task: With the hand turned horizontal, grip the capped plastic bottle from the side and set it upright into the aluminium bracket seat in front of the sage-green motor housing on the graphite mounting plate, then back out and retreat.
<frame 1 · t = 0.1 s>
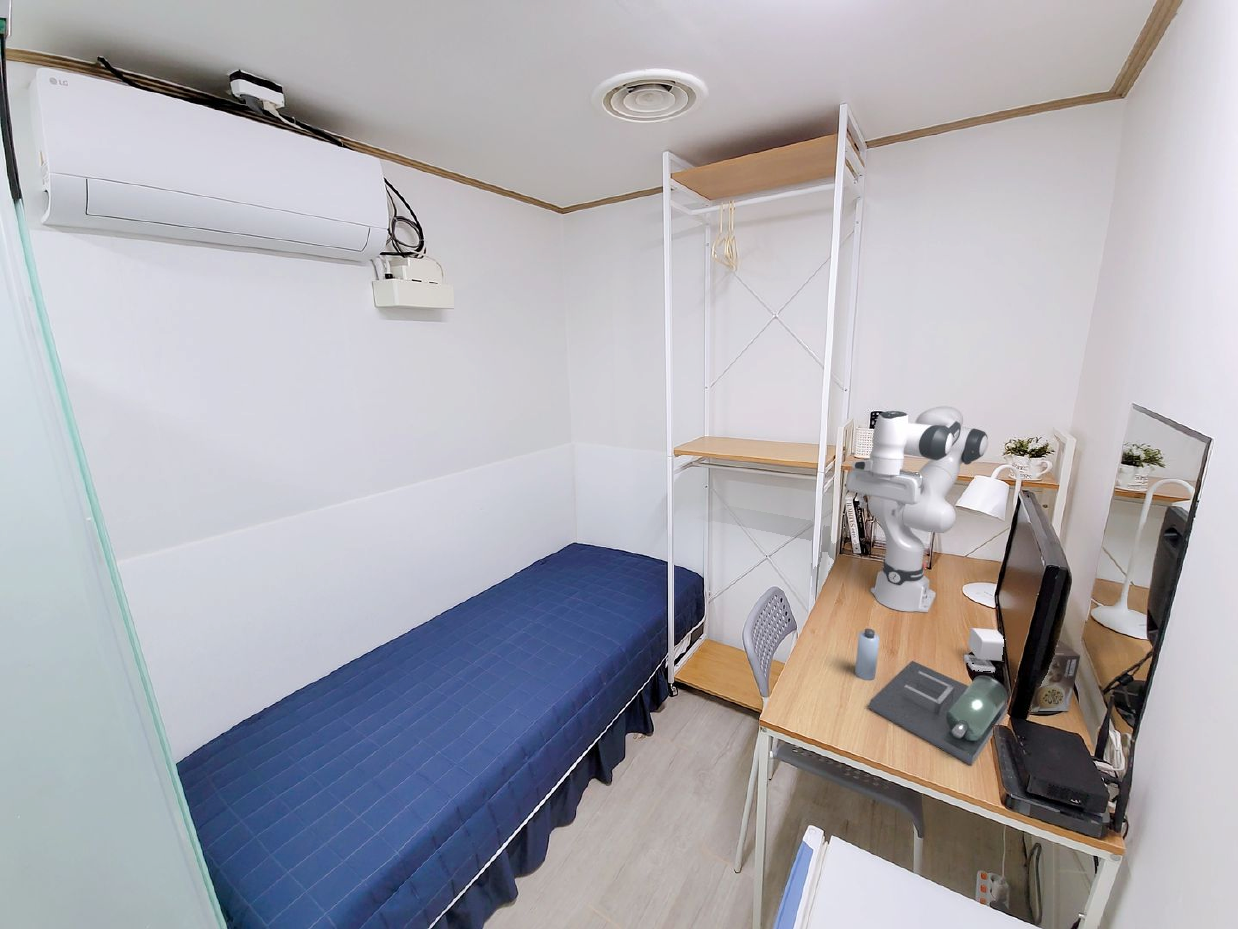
hand: (878, 511, 148), 39 cm above the table, tool pointing down, fingers open, 8 cm apart
capped plastic bottle: (864, 674, 136), on the table
security camera: (981, 666, 138), on the table
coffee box: (1039, 704, 124), on the table
motor mount: (937, 711, 122), on the table
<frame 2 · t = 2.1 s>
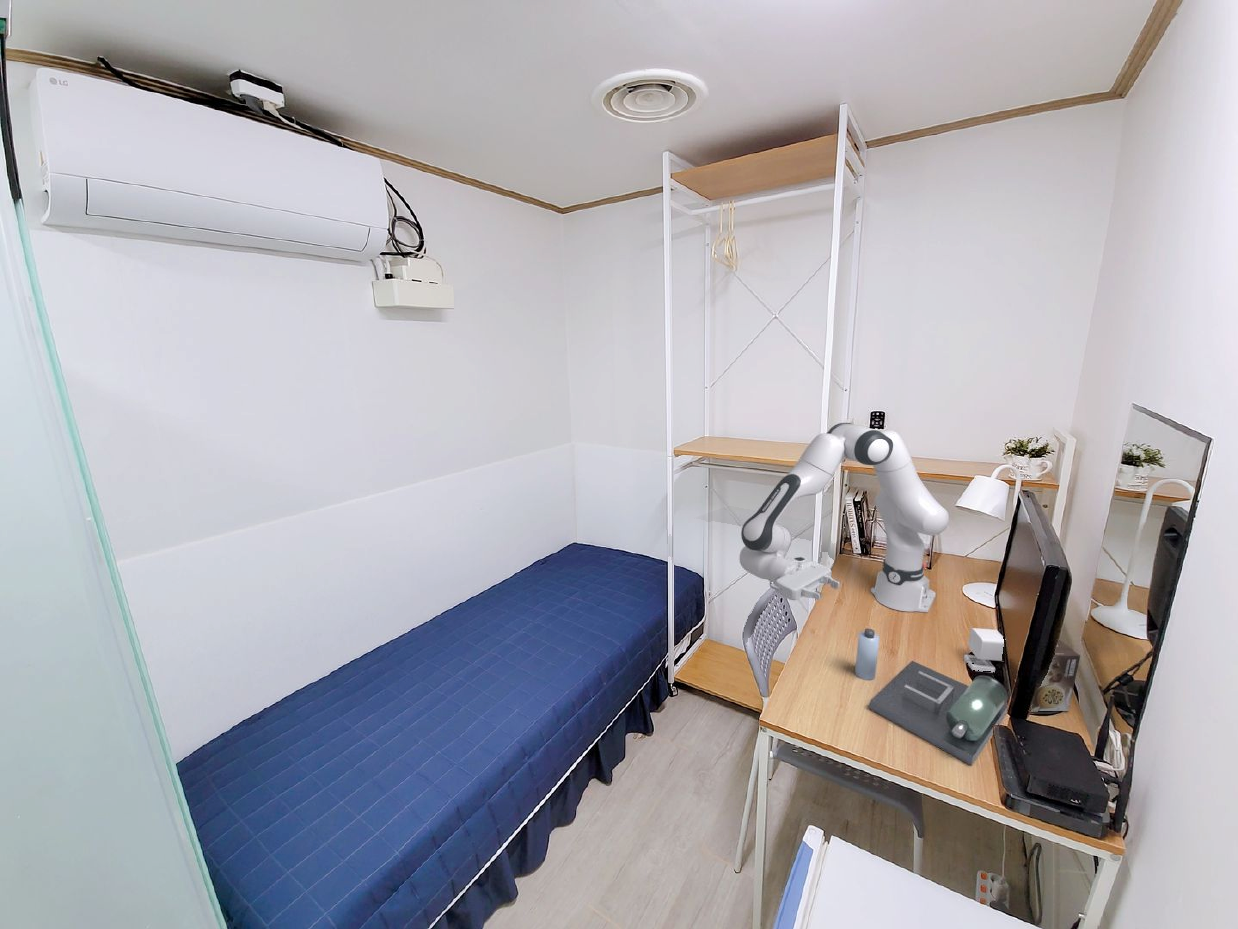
hand: (829, 591, 140), 20 cm above the table, tool horizontal, fingers open, 8 cm apart
nothing on the table moved.
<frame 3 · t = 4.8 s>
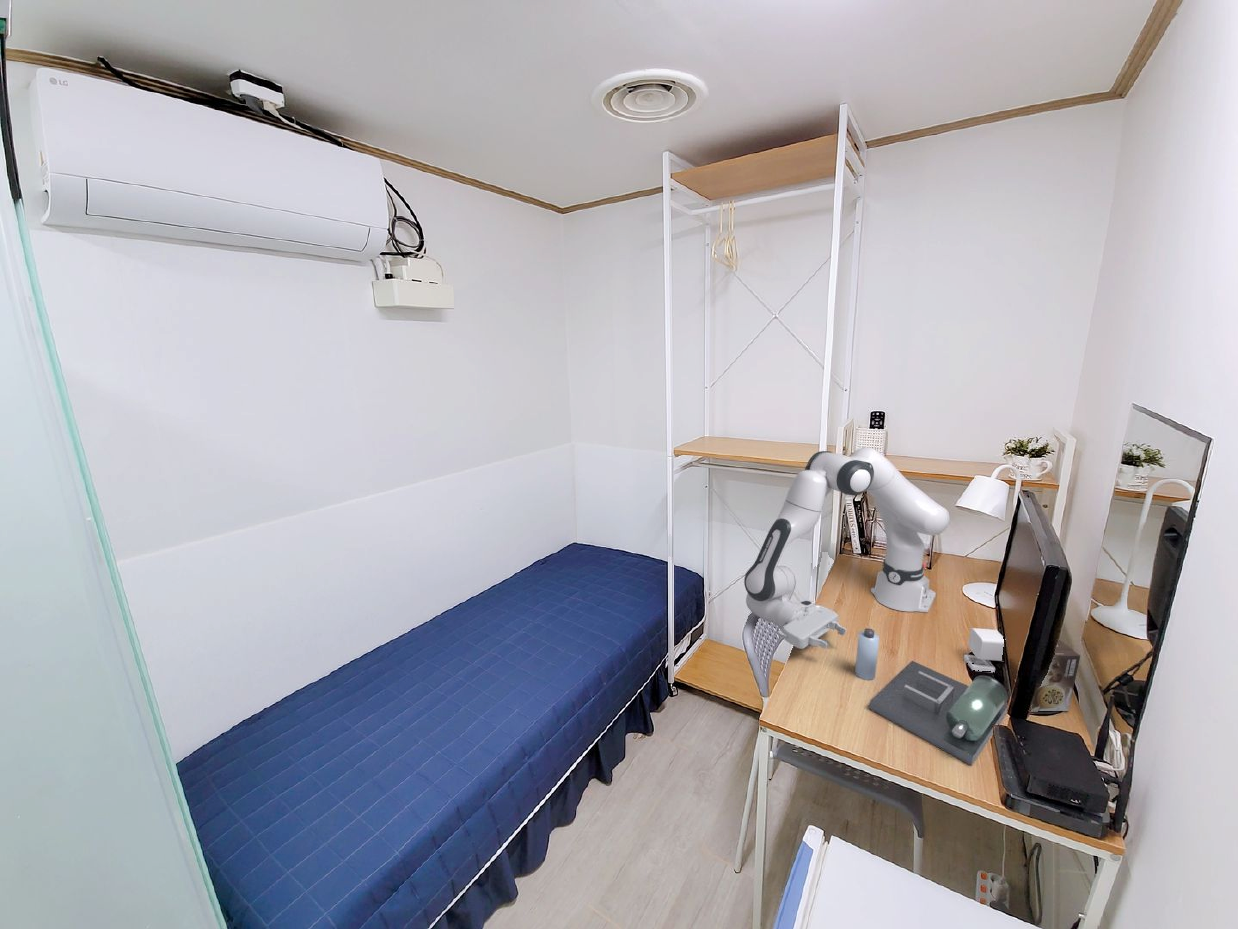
hand: (836, 638, 141), 7 cm above the table, tool horizontal, fingers open, 8 cm apart
nothing on the table moved.
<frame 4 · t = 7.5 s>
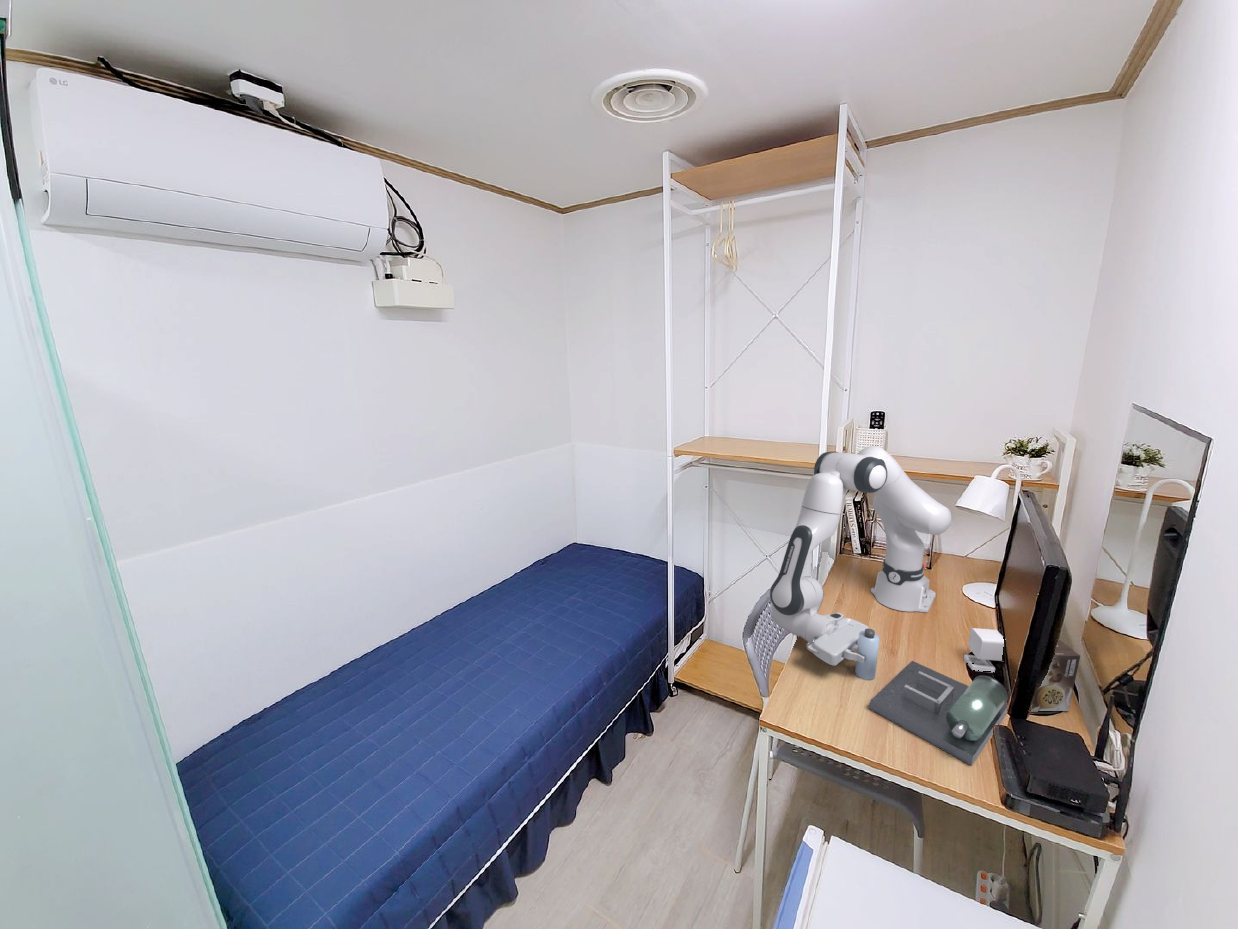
hand: (870, 654, 134), 7 cm above the table, tool horizontal, fingers closed on capped plastic bottle, 5 cm apart
capped plastic bottle: (864, 674, 136), on the table, touching gripper
everything else where it was.
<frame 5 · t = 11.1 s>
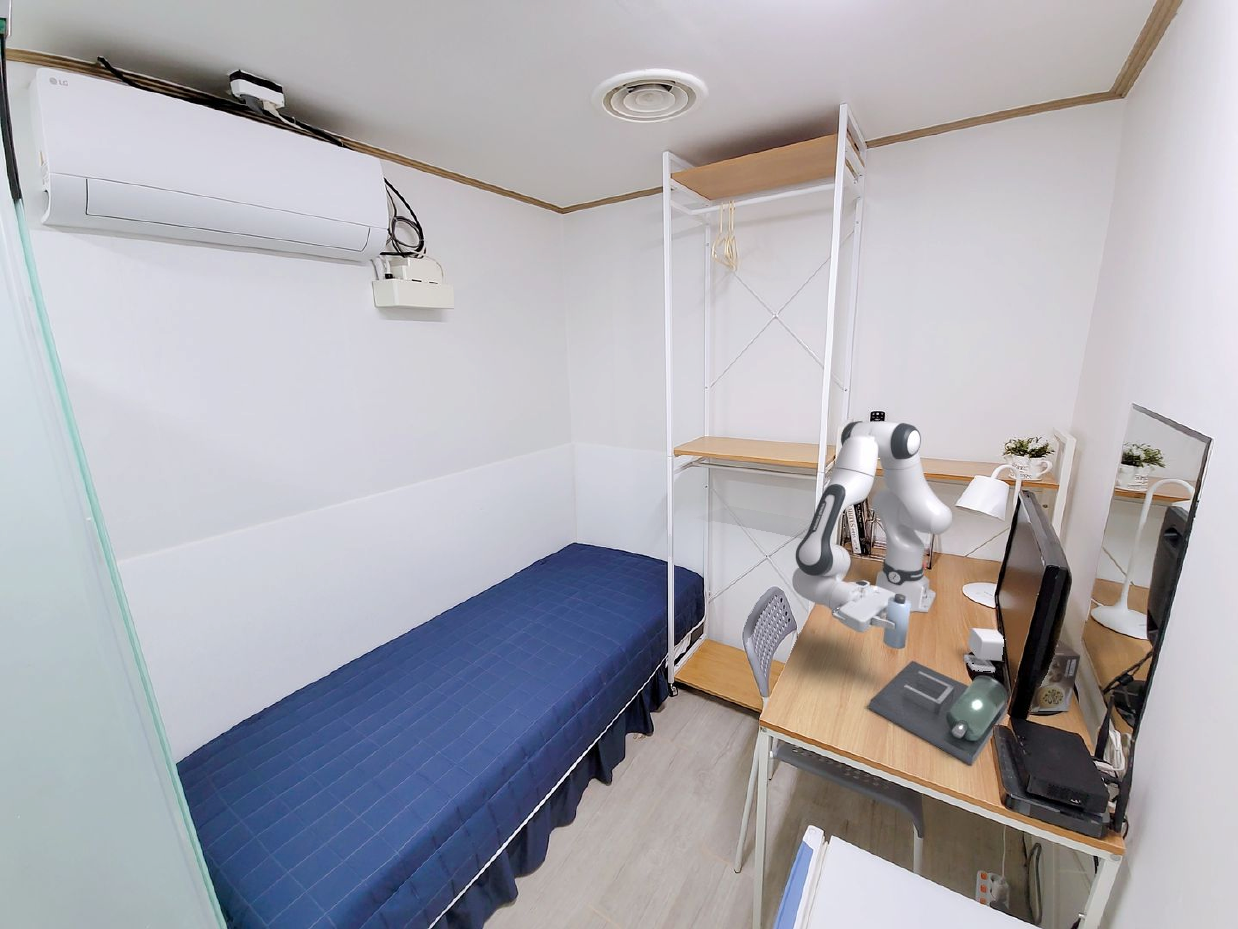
hand: (900, 621, 125), 20 cm above the table, tool horizontal, fingers closed on capped plastic bottle, 5 cm apart
capped plastic bottle: (894, 642, 128), point 13 cm above the table, touching gripper
everything else where it was.
when the fingers open (11 cm above the table, at t = 14.6 s): capped plastic bottle drops 1 cm, resting on motor mount.
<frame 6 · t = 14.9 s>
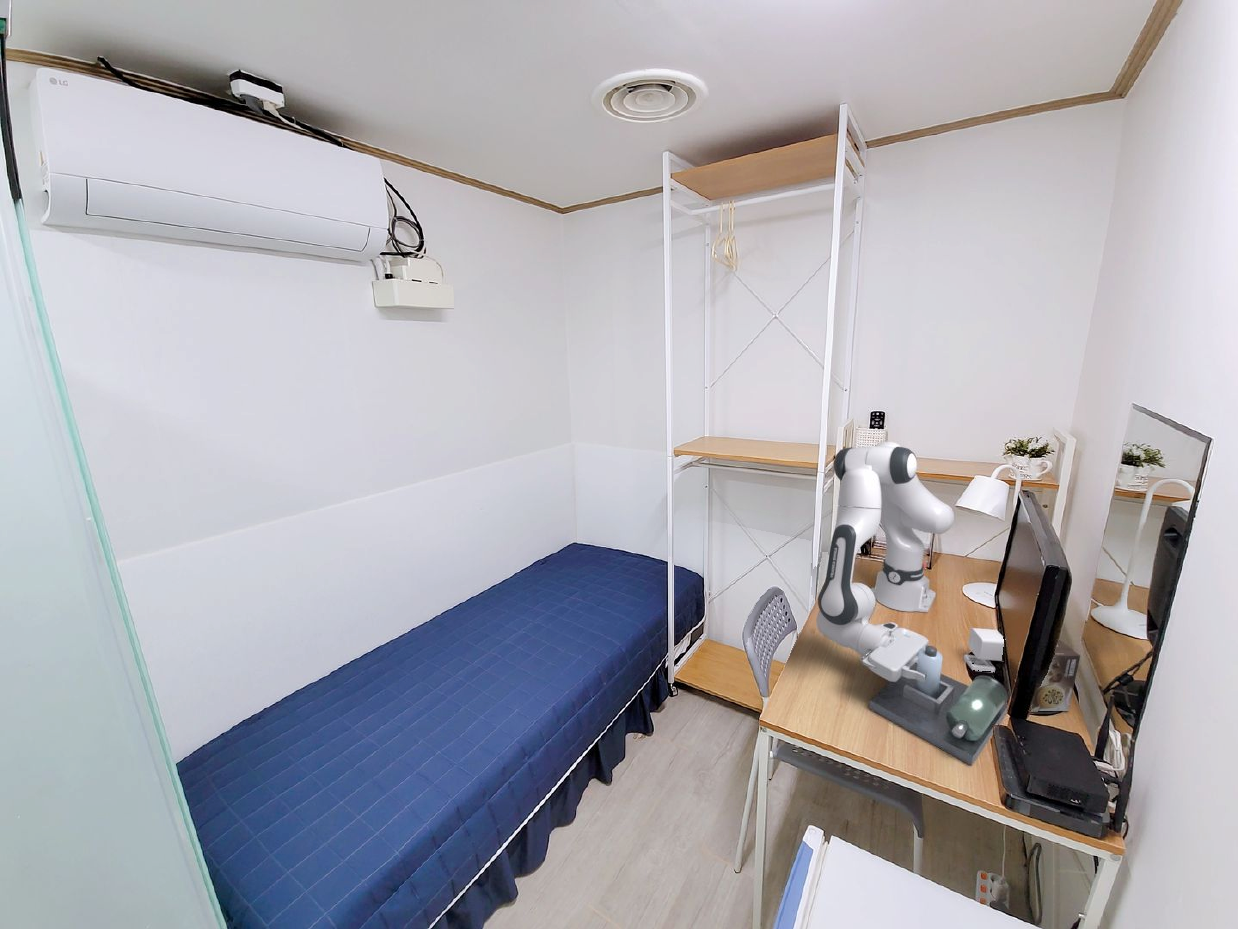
hand: (933, 670, 121), 11 cm above the table, tool horizontal, fingers open, 8 cm apart
capped plastic bottle: (925, 695, 124), point 3 cm above the table, touching motor mount
everything else where it was.
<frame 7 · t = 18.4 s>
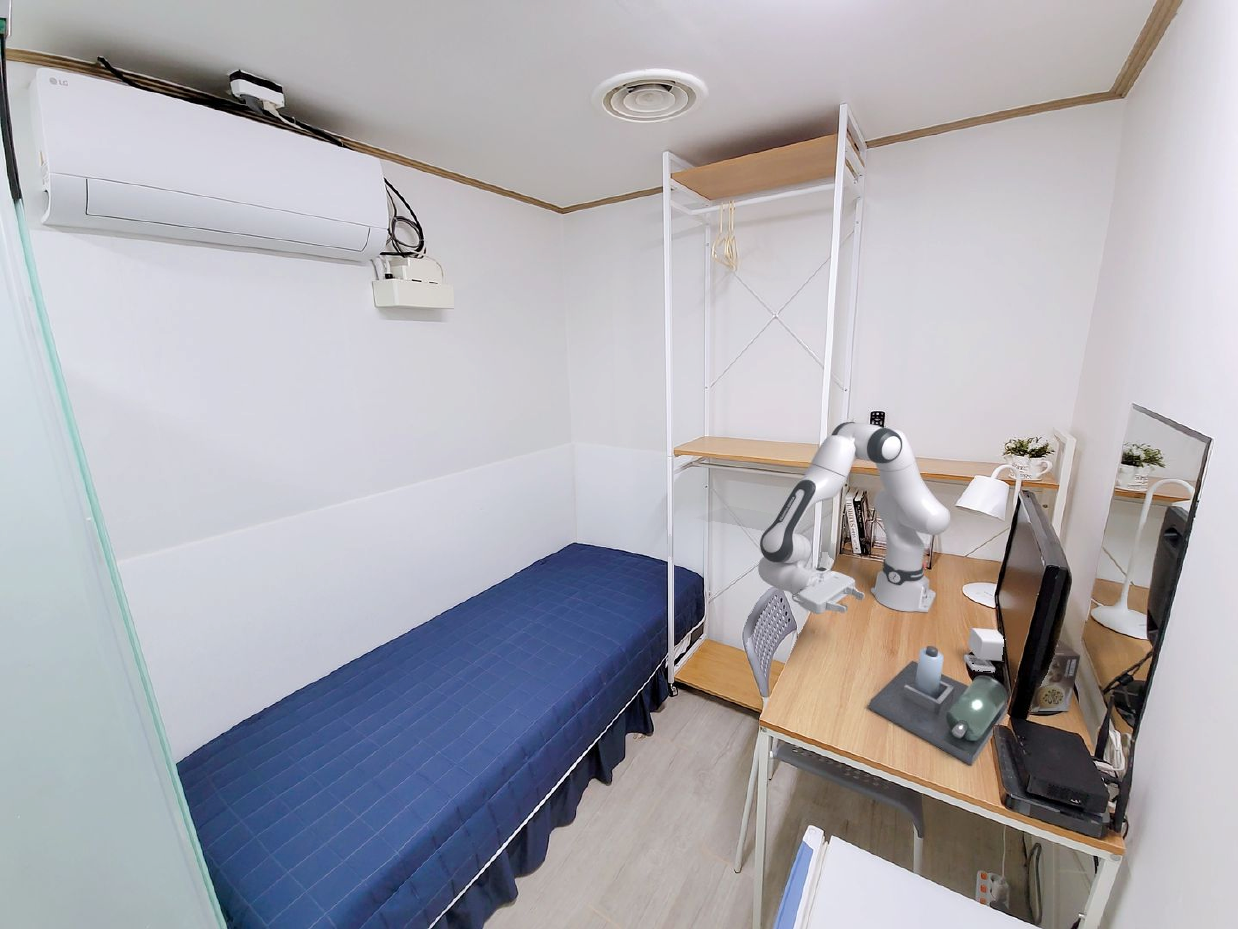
hand: (854, 603, 135), 20 cm above the table, tool horizontal, fingers open, 8 cm apart
nothing on the table moved.
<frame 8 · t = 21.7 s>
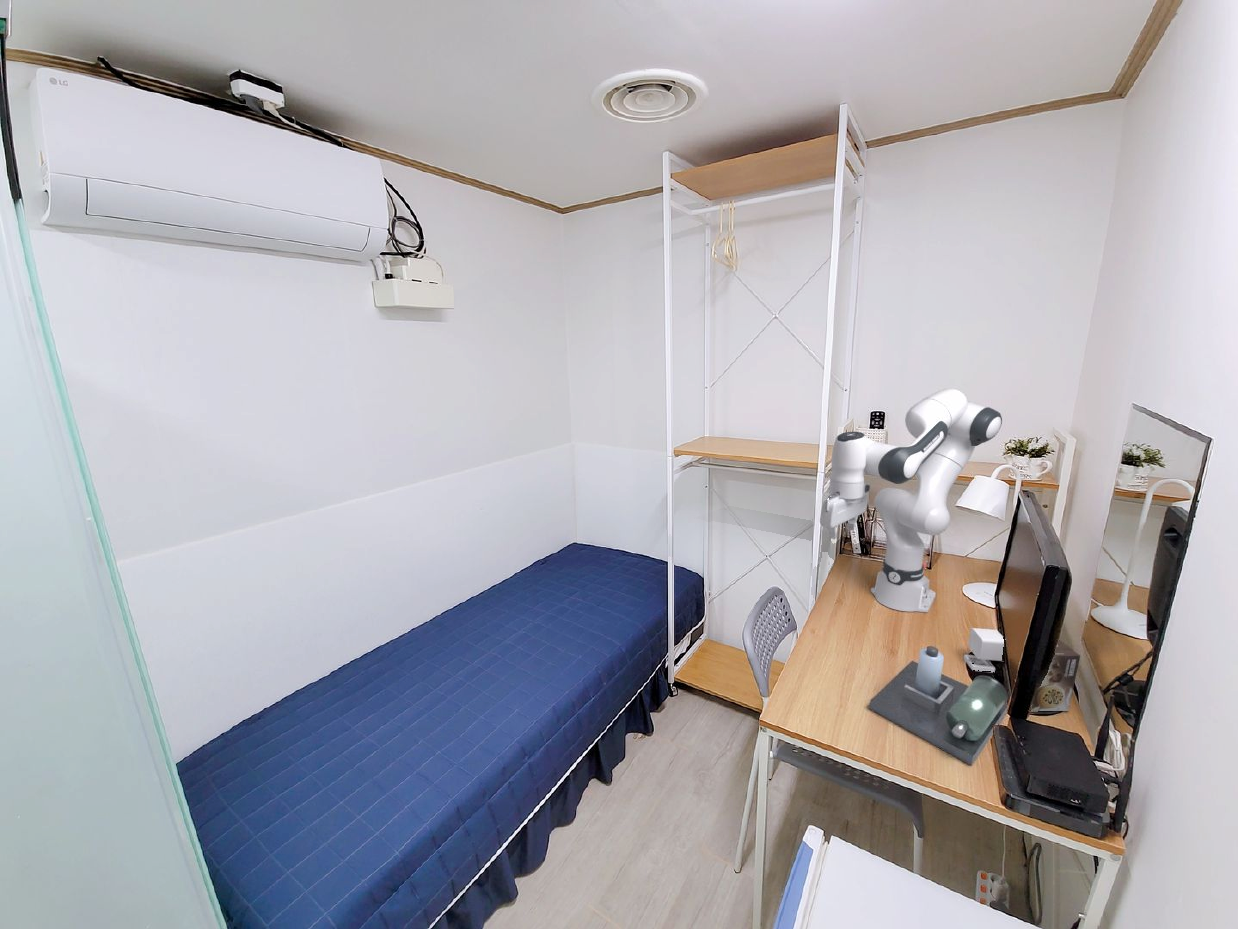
hand: (842, 533, 145), 34 cm above the table, tool pointing down, fingers open, 8 cm apart
nothing on the table moved.
at the end: capped plastic bottle 0.0 cm from the target spot on the motor mount, point 2.5 cm above the motor mount's base; capped plastic bottle tilted 0°; the gripper is holding nothing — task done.
